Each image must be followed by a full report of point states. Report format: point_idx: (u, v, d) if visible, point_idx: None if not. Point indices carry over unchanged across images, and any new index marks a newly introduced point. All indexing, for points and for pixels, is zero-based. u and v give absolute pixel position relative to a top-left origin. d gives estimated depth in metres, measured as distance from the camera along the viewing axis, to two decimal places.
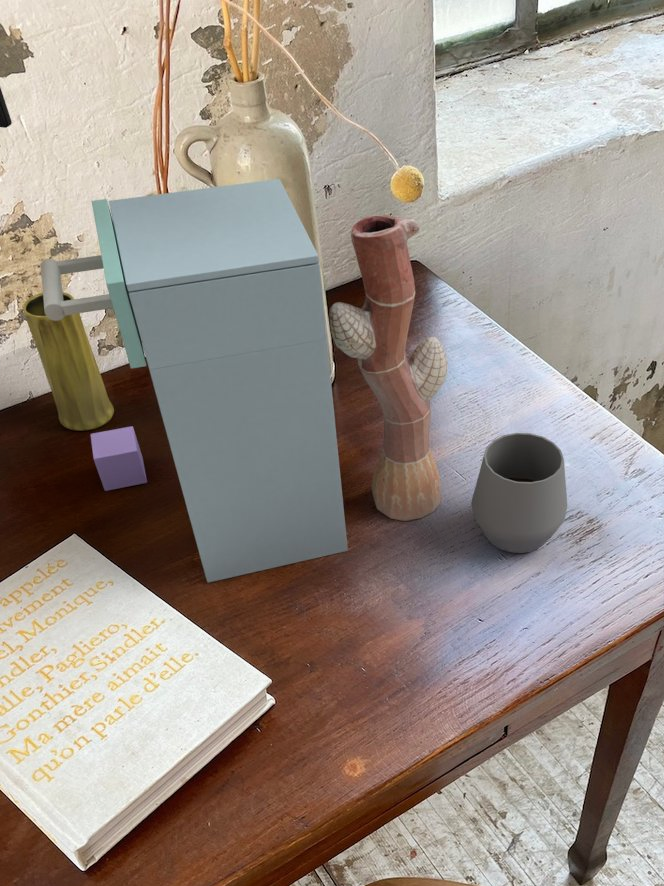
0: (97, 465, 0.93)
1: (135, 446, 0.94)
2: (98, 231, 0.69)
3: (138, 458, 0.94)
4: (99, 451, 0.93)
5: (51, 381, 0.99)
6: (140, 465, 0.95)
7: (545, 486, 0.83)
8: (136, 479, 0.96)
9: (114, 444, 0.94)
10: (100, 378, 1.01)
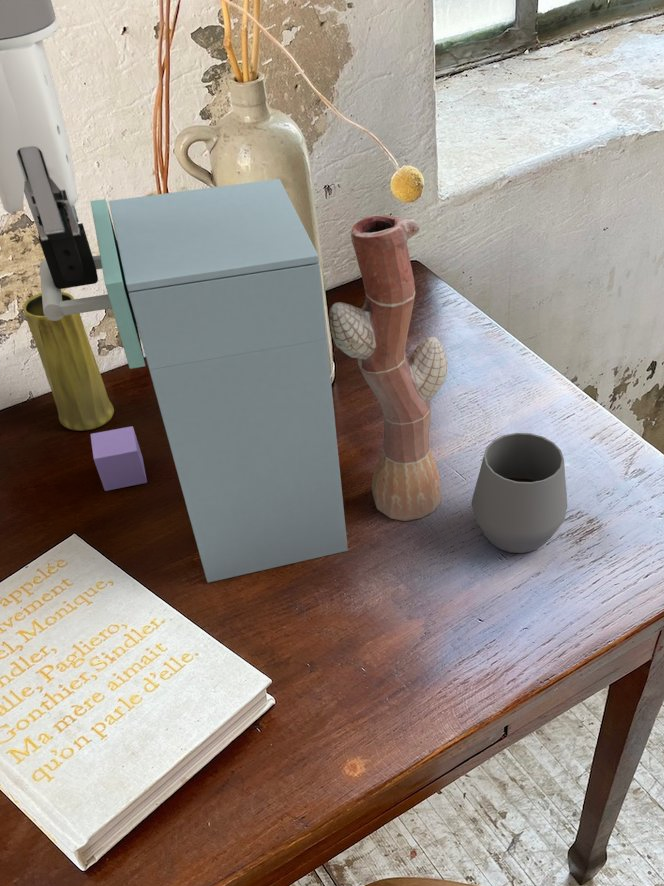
0: (97, 465, 0.93)
1: (135, 446, 0.94)
2: (97, 231, 0.69)
3: (138, 458, 0.94)
4: (99, 451, 0.93)
5: (51, 381, 0.99)
6: (140, 465, 0.95)
7: (545, 486, 0.83)
8: (136, 479, 0.96)
9: (114, 444, 0.94)
10: (100, 378, 1.01)
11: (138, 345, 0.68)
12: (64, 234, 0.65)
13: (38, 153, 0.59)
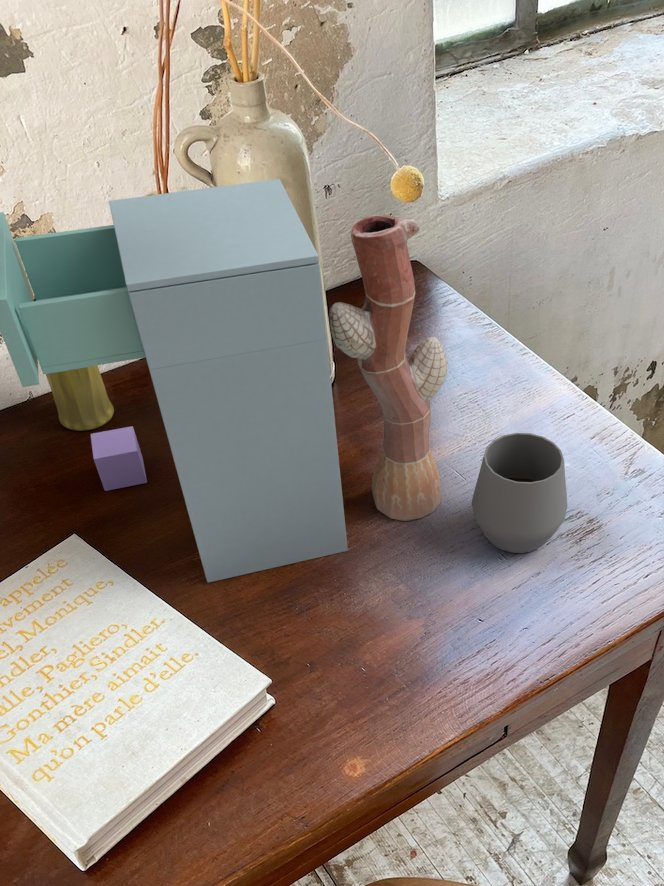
0: (97, 465, 0.93)
1: (135, 446, 0.94)
2: None
3: (138, 458, 0.94)
4: (99, 451, 0.93)
5: (51, 381, 0.99)
6: (140, 465, 0.95)
7: (545, 486, 0.83)
8: (136, 479, 0.96)
9: (114, 444, 0.94)
10: (100, 378, 1.01)
11: (29, 363, 0.66)
12: None
13: None
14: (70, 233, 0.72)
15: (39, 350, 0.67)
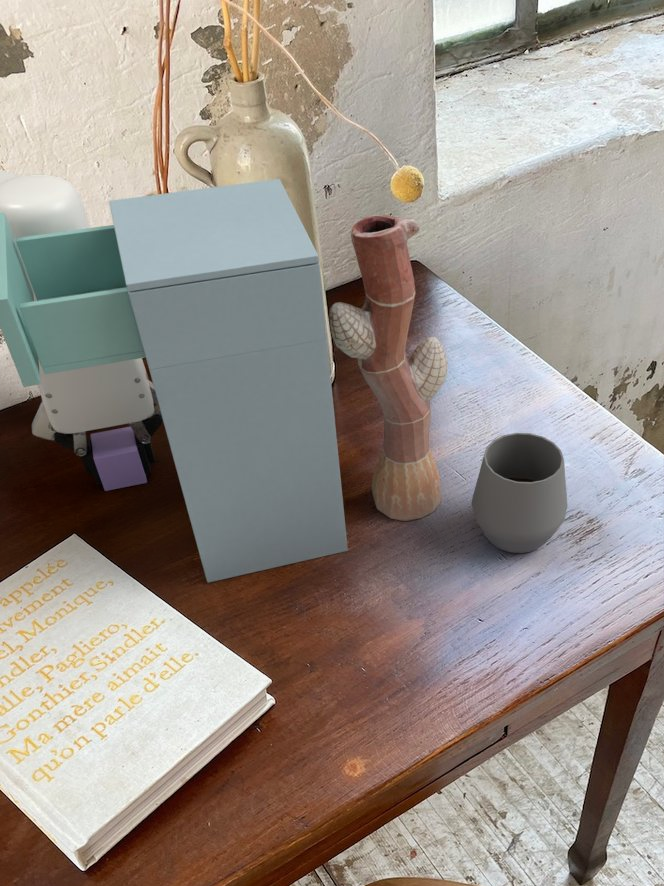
0: (97, 465, 0.93)
1: (135, 446, 0.94)
2: None
3: (138, 458, 0.94)
4: (99, 451, 0.93)
5: None
6: (140, 465, 0.95)
7: (545, 486, 0.83)
8: (136, 480, 0.96)
9: (114, 444, 0.94)
10: None
11: (30, 363, 0.66)
12: None
13: (48, 394, 0.88)
14: (71, 233, 0.72)
15: (39, 350, 0.67)
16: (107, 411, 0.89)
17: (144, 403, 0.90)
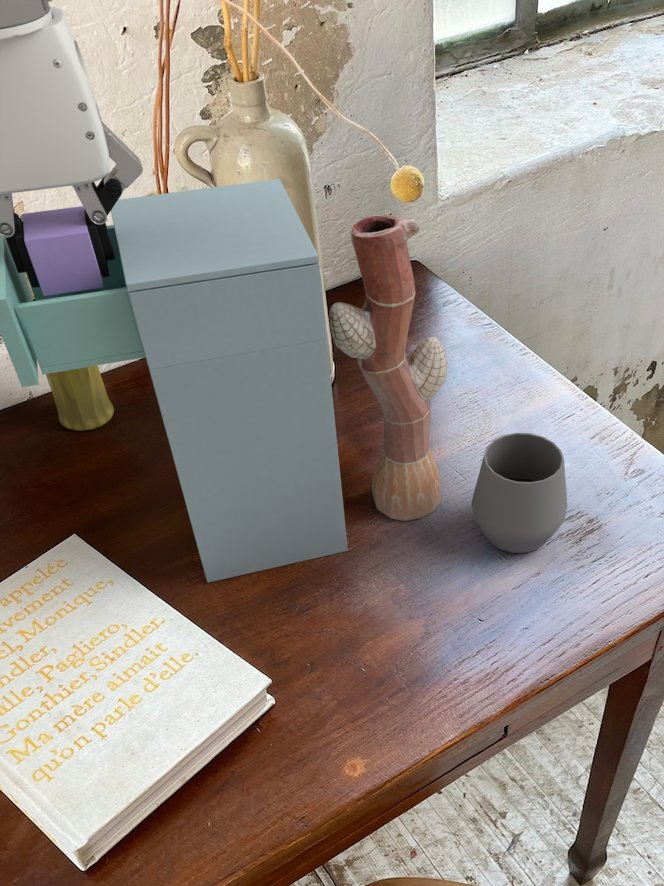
0: (30, 251, 0.65)
1: (85, 227, 0.66)
2: None
3: (90, 245, 0.66)
4: (33, 231, 0.65)
5: (51, 381, 0.99)
6: (93, 257, 0.67)
7: (545, 486, 0.83)
8: (88, 281, 0.68)
9: (55, 224, 0.66)
10: (100, 378, 1.01)
11: (29, 363, 0.66)
12: None
13: None
14: None
15: (38, 350, 0.67)
16: (39, 158, 0.61)
17: (94, 150, 0.62)
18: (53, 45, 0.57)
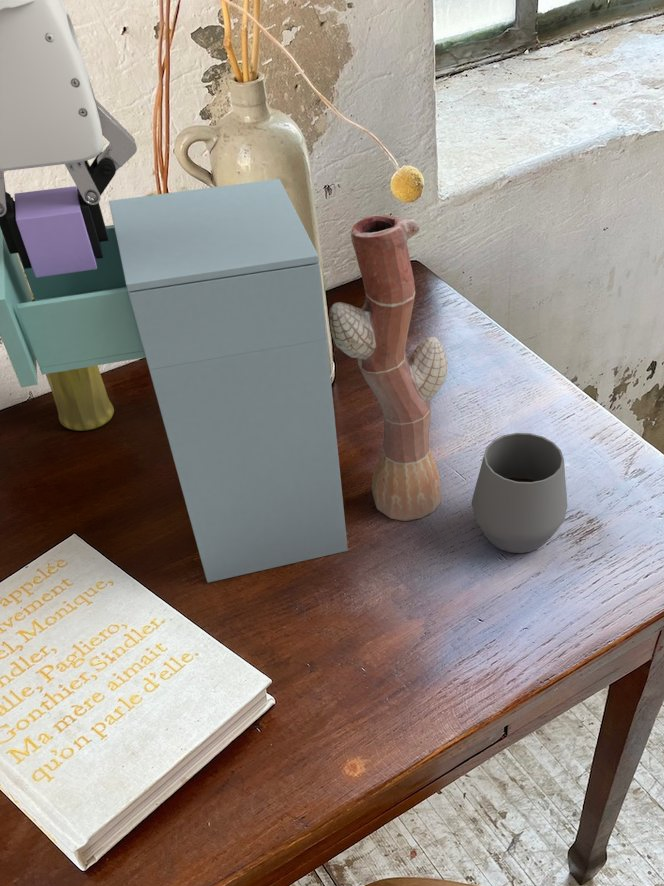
0: (22, 231, 0.64)
1: (78, 207, 0.65)
2: None
3: (83, 225, 0.65)
4: (25, 211, 0.64)
5: (51, 381, 0.99)
6: (86, 238, 0.66)
7: (545, 486, 0.83)
8: (81, 262, 0.67)
9: (47, 204, 0.65)
10: (100, 378, 1.01)
11: (28, 363, 0.66)
12: None
13: None
14: None
15: (37, 350, 0.67)
16: (31, 135, 0.60)
17: (87, 127, 0.61)
18: (45, 18, 0.56)
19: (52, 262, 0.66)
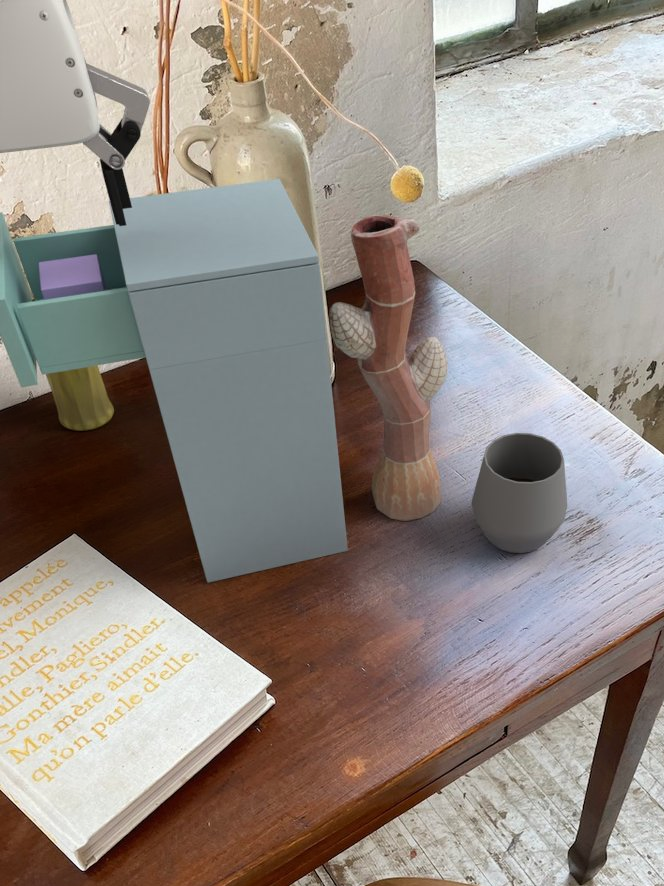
0: None
1: (99, 276, 0.69)
2: None
3: None
4: (49, 281, 0.68)
5: (51, 381, 0.99)
6: None
7: (545, 486, 0.83)
8: None
9: (70, 273, 0.69)
10: (100, 378, 1.01)
11: (28, 363, 0.66)
12: None
13: None
14: (69, 233, 0.72)
15: (37, 350, 0.67)
16: (26, 116, 0.59)
17: (83, 108, 0.60)
18: None
19: None
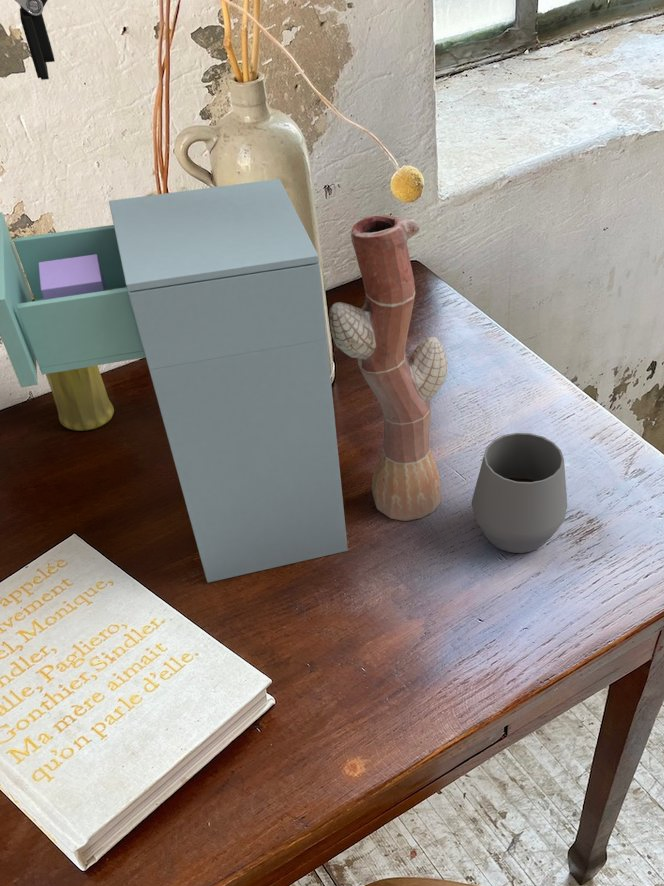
0: None
1: (99, 276, 0.69)
2: None
3: None
4: (49, 281, 0.68)
5: (51, 381, 0.99)
6: None
7: (545, 486, 0.83)
8: None
9: (70, 273, 0.69)
10: (100, 378, 1.01)
11: (28, 363, 0.66)
12: None
13: None
14: (69, 233, 0.72)
15: (37, 350, 0.67)
16: None
17: None
18: None
19: None
